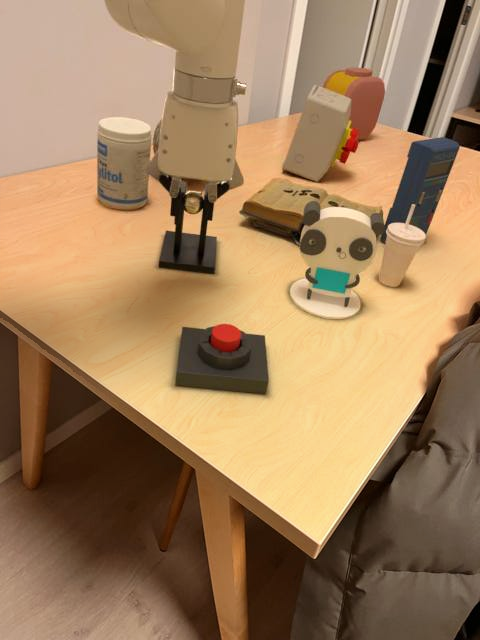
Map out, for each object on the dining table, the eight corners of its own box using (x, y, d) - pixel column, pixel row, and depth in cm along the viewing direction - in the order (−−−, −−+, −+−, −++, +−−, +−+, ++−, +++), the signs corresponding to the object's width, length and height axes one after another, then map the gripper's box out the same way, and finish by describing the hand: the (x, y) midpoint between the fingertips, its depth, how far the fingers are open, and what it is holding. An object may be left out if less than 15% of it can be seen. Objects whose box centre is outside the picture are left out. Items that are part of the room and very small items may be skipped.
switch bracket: (214, 274, 85) (223, 206, 79) (158, 267, 85) (162, 198, 78) (215, 242, 94) (224, 179, 88) (165, 236, 94) (169, 171, 87)
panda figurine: (282, 309, 80) (303, 218, 71) (288, 273, 89) (307, 188, 80) (361, 325, 79) (391, 236, 71) (358, 287, 89) (385, 204, 80)
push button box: (175, 385, 63) (177, 360, 61) (181, 339, 70) (183, 315, 68) (265, 394, 64) (271, 369, 62) (262, 348, 71) (267, 324, 69)
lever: (202, 216, 73) (205, 193, 72) (179, 213, 73) (181, 189, 72) (203, 209, 86) (205, 189, 85) (183, 207, 85) (185, 187, 84)
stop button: (209, 351, 64) (211, 339, 63) (210, 333, 66) (212, 322, 65) (239, 354, 64) (241, 343, 63) (239, 336, 67) (241, 325, 66)
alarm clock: (348, 129, 172) (364, 64, 161) (374, 140, 166) (393, 73, 154) (309, 133, 161) (324, 64, 150) (336, 145, 155) (354, 74, 144)
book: (378, 232, 108) (387, 205, 105) (362, 265, 95) (371, 235, 92) (265, 198, 114) (270, 172, 111) (235, 225, 101) (240, 196, 98)
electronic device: (398, 251, 102) (435, 149, 91) (377, 240, 105) (410, 139, 94) (425, 242, 108) (463, 144, 96) (405, 231, 111) (439, 135, 99)
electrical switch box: (337, 196, 127) (373, 114, 116) (279, 173, 128) (309, 90, 116) (343, 177, 139) (376, 101, 127) (290, 156, 140) (318, 79, 128)
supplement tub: (87, 203, 100) (86, 124, 91) (112, 187, 107) (113, 112, 99) (134, 216, 98) (136, 136, 90) (156, 199, 106) (160, 124, 97)
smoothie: (393, 270, 95) (419, 197, 87) (414, 289, 91) (444, 214, 83) (363, 272, 93) (388, 198, 85) (384, 292, 88) (411, 215, 80)
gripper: (267, 90, 69) (246, 218, 80) (140, 71, 68) (137, 204, 78) (270, 104, 63) (248, 241, 74) (131, 84, 62) (129, 227, 72)
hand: (191, 221), depth 76 cm, fingers closed on lever, 3 cm apart
